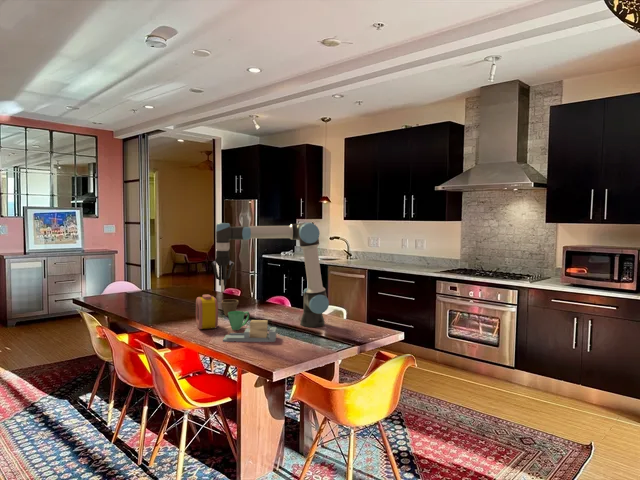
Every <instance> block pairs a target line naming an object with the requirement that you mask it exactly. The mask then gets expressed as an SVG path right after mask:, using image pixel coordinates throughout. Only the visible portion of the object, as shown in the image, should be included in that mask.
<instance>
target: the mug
mask: <svg viewBox="0 0 640 480" xmlns="http://www.w3.org/2000/svg"><path fill="white" fill-rule="evenodd" d="M246 315H247V316H246ZM250 315H251V313H250V312H249V311H242V310H236V311H231V312H228V316H227V317H228V323H229V325H230V328H231V330H232V331H240V330H241V328H243V327H244V326H245V325H246V324H247V323H248V322H249V321H250V317H251V316H250ZM245 316H246V318H245ZM244 318H245V320H244Z"/></svg>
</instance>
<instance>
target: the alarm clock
mask: <svg viewBox="0 0 640 480" xmlns="http://www.w3.org/2000/svg"><path fill="white" fill-rule="evenodd" d="M218 303H219V302H218V300H217V298H216V297H214V295H210V294H202V296H198V297H196V299H195V323H196V326H197V328H198V329H199V330H207V329H216V328H218V327H217V326H218V324H219V304H218Z"/></svg>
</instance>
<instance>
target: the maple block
mask: <svg viewBox="0 0 640 480" xmlns="http://www.w3.org/2000/svg"><path fill="white" fill-rule="evenodd" d="M249 322H250V323H249V328H250V338H267V333H269V330H268V328H269V327H268V319H267V320H266V319H262V320H261V319H251V320H250V321H249Z"/></svg>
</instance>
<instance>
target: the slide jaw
mask: <svg viewBox="0 0 640 480" xmlns="http://www.w3.org/2000/svg"><path fill="white" fill-rule="evenodd" d="M243 333H244V338H249V337H250V327H248V328H247V327H246V328H245V330H244V332H243Z"/></svg>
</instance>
